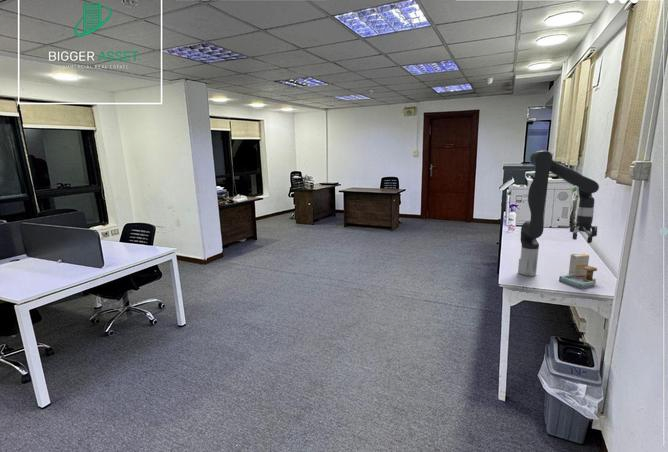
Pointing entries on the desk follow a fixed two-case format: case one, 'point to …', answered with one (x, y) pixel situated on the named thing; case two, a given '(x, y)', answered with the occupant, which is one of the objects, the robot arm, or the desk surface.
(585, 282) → the tray
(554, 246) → the desk surface
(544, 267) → the desk surface
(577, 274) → the supplement box
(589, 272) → the stool
